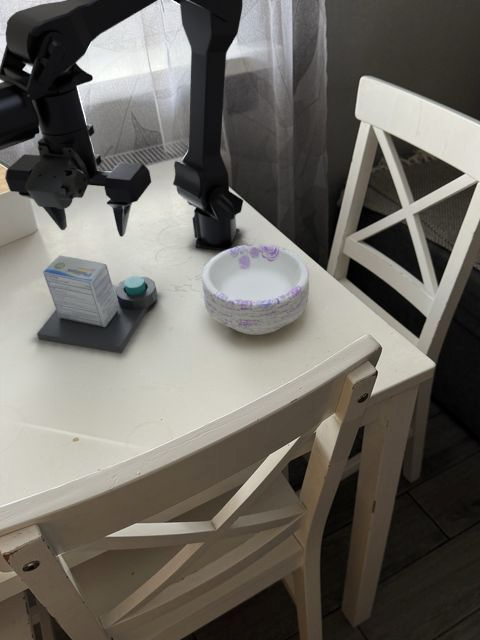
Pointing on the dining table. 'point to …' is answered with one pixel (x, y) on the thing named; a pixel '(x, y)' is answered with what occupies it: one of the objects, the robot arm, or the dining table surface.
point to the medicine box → (81, 290)
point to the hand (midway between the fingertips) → (93, 231)
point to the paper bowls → (256, 288)
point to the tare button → (135, 285)
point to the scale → (115, 331)
